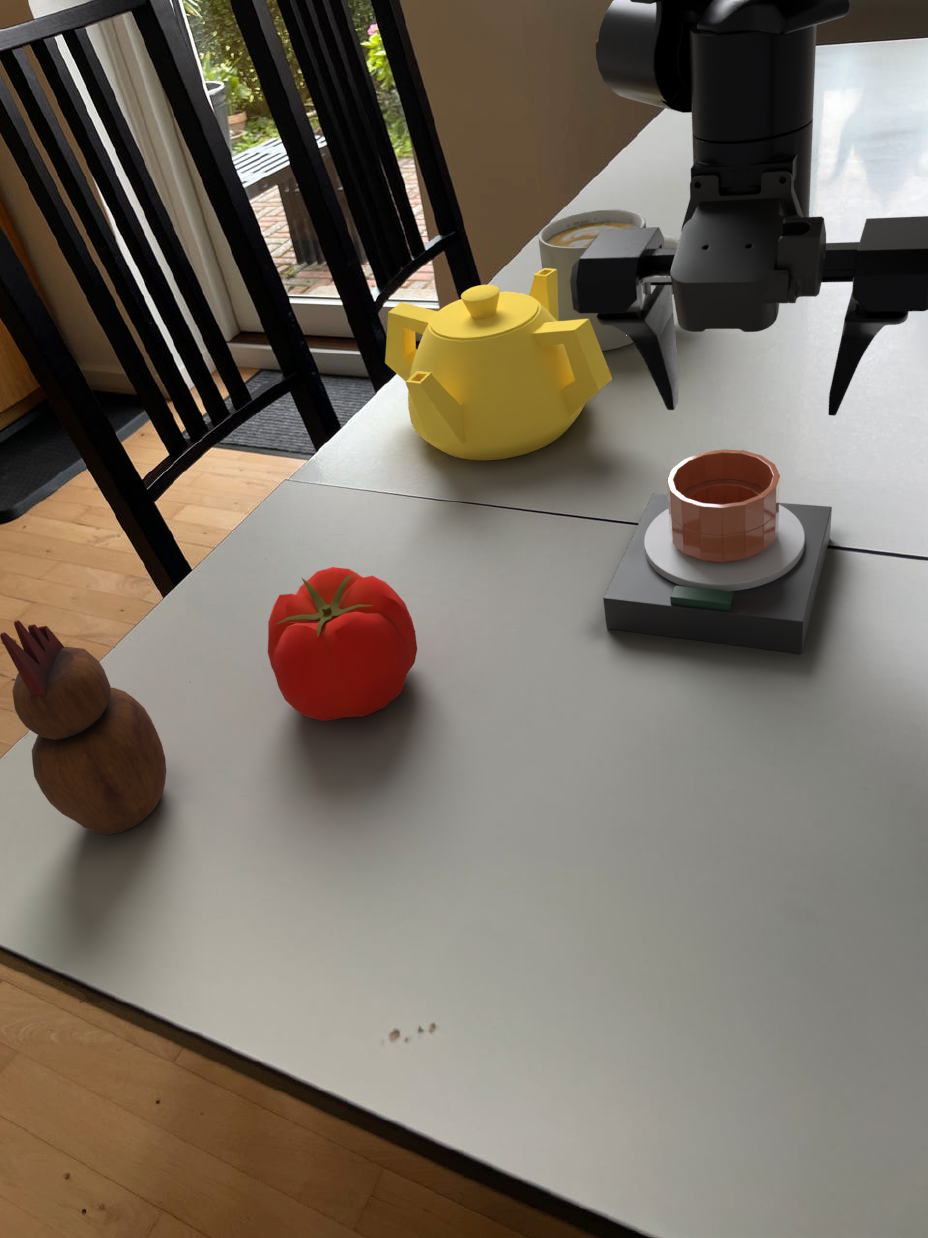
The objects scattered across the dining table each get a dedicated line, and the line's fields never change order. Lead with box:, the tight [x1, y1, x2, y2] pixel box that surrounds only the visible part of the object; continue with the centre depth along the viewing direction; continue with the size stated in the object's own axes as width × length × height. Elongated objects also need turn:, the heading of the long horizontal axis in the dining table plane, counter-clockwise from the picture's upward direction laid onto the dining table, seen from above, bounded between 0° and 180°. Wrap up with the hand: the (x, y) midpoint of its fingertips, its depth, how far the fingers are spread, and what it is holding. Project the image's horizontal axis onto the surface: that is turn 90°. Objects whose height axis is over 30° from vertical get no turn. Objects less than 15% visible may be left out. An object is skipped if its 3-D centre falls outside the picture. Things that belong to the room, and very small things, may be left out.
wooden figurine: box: [0, 619, 167, 835], centre depth 54 cm, size 7×6×15 cm
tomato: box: [267, 566, 418, 721], centre depth 61 cm, size 9×9×8 cm
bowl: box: [666, 448, 781, 562], centre depth 63 cm, size 7×7×4 cm
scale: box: [602, 493, 833, 655], centre depth 65 cm, size 12×12×3 cm
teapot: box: [384, 268, 613, 461], centre depth 84 cm, size 17×17×12 cm
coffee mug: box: [538, 208, 679, 352], centre depth 95 cm, size 13×10×10 cm
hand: (750, 409), depth 59 cm, fingers open, 9 cm apart
